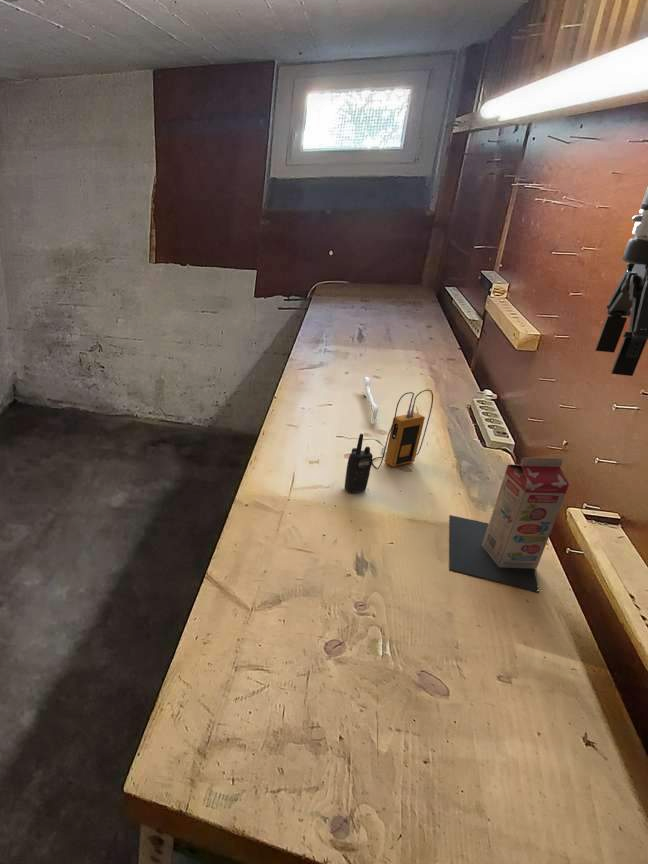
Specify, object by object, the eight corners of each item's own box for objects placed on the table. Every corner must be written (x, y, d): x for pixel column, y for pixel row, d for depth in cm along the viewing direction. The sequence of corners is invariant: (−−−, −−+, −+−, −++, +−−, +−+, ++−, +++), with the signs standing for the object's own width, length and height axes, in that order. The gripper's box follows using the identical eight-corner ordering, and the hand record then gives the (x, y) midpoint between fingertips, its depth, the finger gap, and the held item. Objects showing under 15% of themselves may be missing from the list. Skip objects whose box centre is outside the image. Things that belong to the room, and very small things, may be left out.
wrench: (359, 391, 186) (362, 374, 183) (366, 391, 185) (369, 374, 183) (370, 427, 162) (374, 408, 159) (378, 427, 161) (382, 409, 159)
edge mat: (527, 532, 116) (527, 531, 116) (538, 592, 100) (539, 592, 100) (449, 515, 122) (449, 514, 122) (449, 570, 107) (449, 569, 107)
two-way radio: (348, 494, 131) (358, 437, 124) (337, 485, 135) (347, 429, 128) (369, 491, 132) (380, 434, 125) (358, 481, 136) (368, 426, 129)
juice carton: (481, 545, 112) (513, 448, 103) (517, 546, 112) (552, 449, 102) (498, 567, 107) (533, 466, 97) (536, 568, 106) (575, 467, 96)
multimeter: (396, 443, 153) (411, 374, 144) (425, 460, 144) (443, 388, 135) (351, 453, 149) (364, 383, 140) (379, 471, 140) (394, 397, 131)
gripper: (613, 228, 102) (574, 340, 112) (651, 248, 83) (600, 382, 92) (667, 229, 99) (622, 345, 108) (720, 250, 80) (660, 388, 89)
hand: (612, 362), depth 100 cm, fingers open, 13 cm apart
